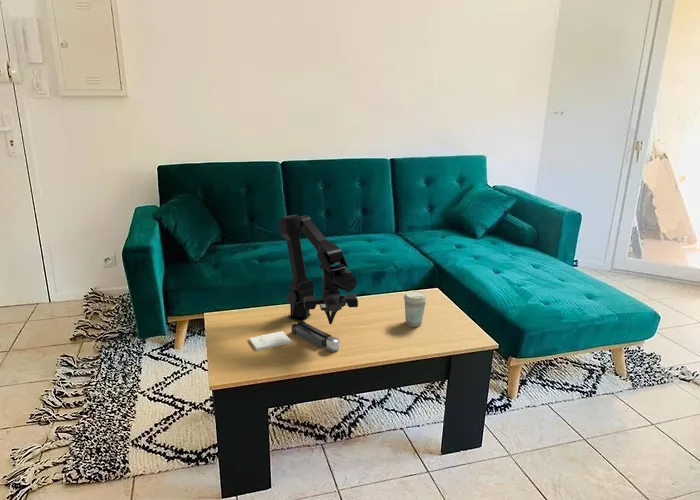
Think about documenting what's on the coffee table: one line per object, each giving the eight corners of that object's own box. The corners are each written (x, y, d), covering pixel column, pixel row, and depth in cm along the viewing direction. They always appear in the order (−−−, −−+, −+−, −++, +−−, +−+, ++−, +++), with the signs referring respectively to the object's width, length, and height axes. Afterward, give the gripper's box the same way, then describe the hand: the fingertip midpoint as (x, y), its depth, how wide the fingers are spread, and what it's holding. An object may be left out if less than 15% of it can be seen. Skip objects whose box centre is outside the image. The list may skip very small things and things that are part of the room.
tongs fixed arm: (325, 346, 181) (325, 338, 180) (321, 348, 180) (321, 340, 179) (295, 330, 192) (295, 322, 191) (291, 332, 191) (291, 324, 190)
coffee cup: (399, 326, 198) (401, 296, 194) (405, 317, 205) (407, 288, 201) (421, 330, 195) (423, 300, 191) (427, 321, 202) (429, 292, 198)
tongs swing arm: (342, 348, 180) (342, 339, 179) (332, 352, 176) (332, 344, 175) (301, 327, 193) (301, 319, 192) (291, 331, 190) (291, 323, 189)
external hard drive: (290, 344, 183) (256, 352, 178) (282, 334, 190) (249, 341, 185) (290, 340, 183) (256, 347, 177) (282, 330, 190) (248, 337, 184)
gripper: (306, 293, 174) (306, 335, 179) (361, 290, 177) (360, 332, 182) (303, 280, 185) (303, 321, 190) (355, 278, 188) (354, 318, 193)
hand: (330, 323), depth 188 cm, fingers closed
